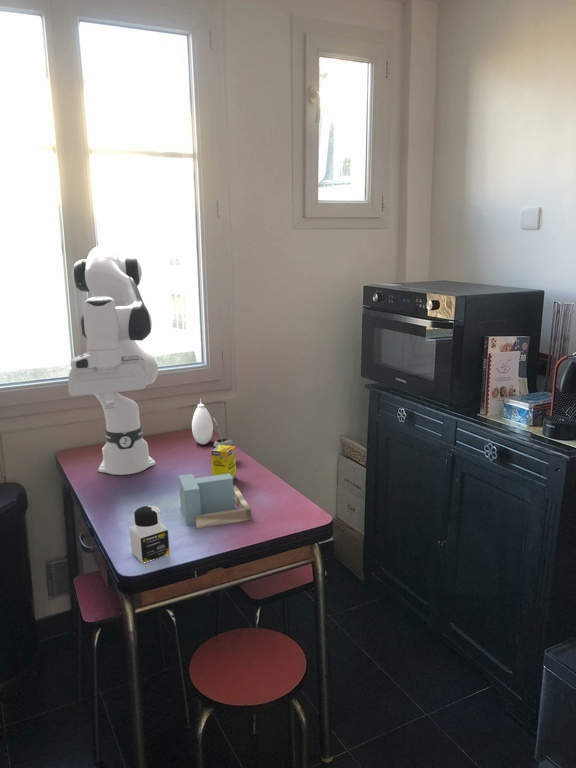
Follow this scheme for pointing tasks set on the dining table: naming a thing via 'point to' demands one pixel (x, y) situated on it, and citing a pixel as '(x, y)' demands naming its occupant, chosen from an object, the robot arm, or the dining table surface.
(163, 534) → the medicine bottle
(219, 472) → the supplement box
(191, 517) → the blue block with tab
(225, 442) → the mate gourd
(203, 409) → the white bulb air blower
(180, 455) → the dining table surface
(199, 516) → the frame
